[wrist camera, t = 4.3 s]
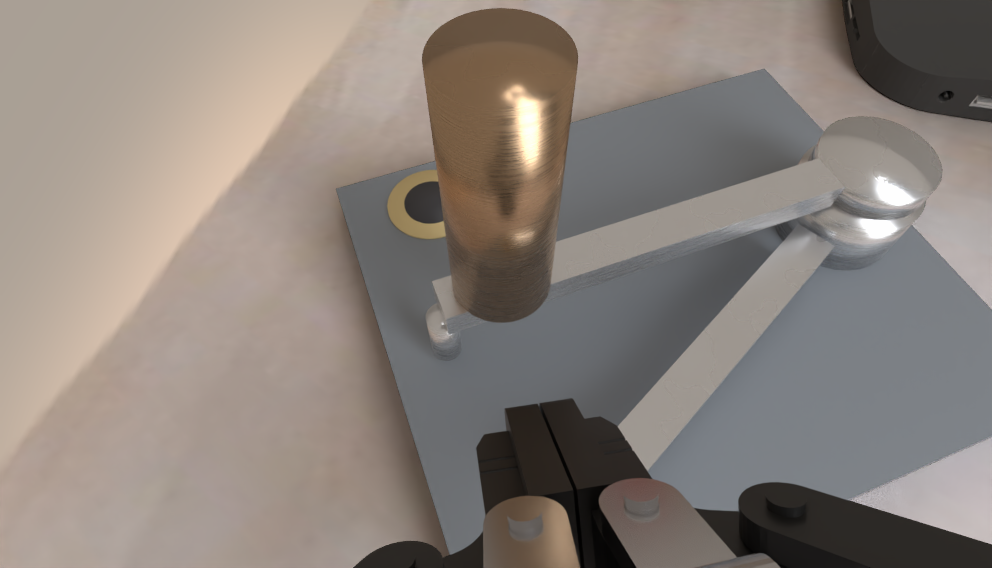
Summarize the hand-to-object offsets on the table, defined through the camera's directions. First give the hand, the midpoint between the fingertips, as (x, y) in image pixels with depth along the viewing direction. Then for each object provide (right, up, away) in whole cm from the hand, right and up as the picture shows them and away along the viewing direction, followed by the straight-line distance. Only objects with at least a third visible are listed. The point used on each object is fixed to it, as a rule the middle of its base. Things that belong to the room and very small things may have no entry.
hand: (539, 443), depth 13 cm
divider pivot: (+7, +2, +9) cm, 11 cm away
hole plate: (+5, +3, +11) cm, 13 cm away
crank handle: (+6, +4, +9) cm, 11 cm away
